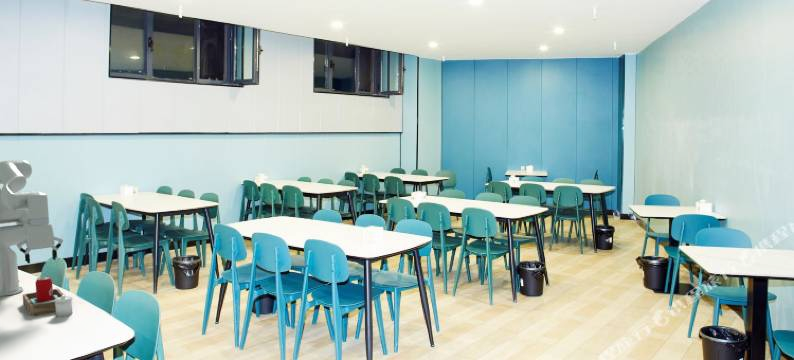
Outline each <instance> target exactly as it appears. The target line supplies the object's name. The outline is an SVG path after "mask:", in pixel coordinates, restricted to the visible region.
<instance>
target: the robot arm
mask: <svg viewBox="0 0 794 360" xmlns="http://www.w3.org/2000/svg"><path fill="white" fill-rule="evenodd" d="M32 173H33V169H32V165H31V164H30V163H29V162H28V161H27V160H24V159H16V160H14V159H13V160H2V161H0V185H2V188H1V187H0V225H3V226H0V297H5V296H12V295H16V294H19V293H22V292H23V291H24V288H23V287H22V286H20V284H19V283H20V280H19V270H18V256H17V253H16V251H14V250H13V248H11V247H13V246H16V247H17V248H18V250H19V251H20V252H22V253H23V254H24V260H25V262H26V263H27V264H31V256H30V251H33V250H40V249H41V250H42V249H48V248H51V253H52V254H51V255H52V257H51V259H52V260H53V261H56V258H58V254H57V253H58V249H59V248H61V246H62V243H63V242H64V239H63V238H59V237H56V236H55V235H54V229H53V225H52V223H50V219H49V215H50V214H49V203H48V202H49V201H48V200H49V199H48V194H46V193H43V192H41V191H37V190H35V191H23V192H22V190H23V189H24V188H25V187H26V185H27V179H28V178H29V177H31V176H32ZM20 191H21V192H20ZM11 223H15V224H12V225H6V224H11ZM4 224H5V225H4ZM55 241H57V242H58V243H56V245H55ZM24 245H25V246H26V249H24V248H23V247H22V246H24Z"/></svg>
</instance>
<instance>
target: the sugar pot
mask: <svg viewBox="0 0 794 360" xmlns="http://www.w3.org/2000/svg"><path fill="white" fill-rule="evenodd" d="M64 295H65V294H64ZM64 295H62V296H61V297H59V298H56V299H54V302H55V307H56V312H55V316H56V317H58V318H64V317H68V316H72V315H73V296H70V295H68V296H66V295H65V296H64Z"/></svg>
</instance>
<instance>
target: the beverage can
mask: <svg viewBox="0 0 794 360" xmlns="http://www.w3.org/2000/svg"><path fill="white" fill-rule="evenodd" d="M53 289H54V287H53V280H52V278H51V276H41V277H37V278H36V280H35V292H36V296H37V303H41V302H46V301H52V300H53Z"/></svg>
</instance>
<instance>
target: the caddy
mask: <svg viewBox="0 0 794 360" xmlns="http://www.w3.org/2000/svg"><path fill="white" fill-rule="evenodd" d="M53 295H57V296H58V297H61V296H62V295H64V296H66V295H65V294H64V293H63V292H62V290H60V288H53ZM34 298H37V296H36V291H35V292H30V293H24V294H22V305H23V306H24V307H25V309H26V311H27V312H28V313H29V316H30V317H35V316H36V317H37V316H41V315H47V314H52V313H53V314H54V313H56V307H55V302H54V301H52V302H46V303H40V304H35V305H33V304H32V303H31V301H30V299H34Z"/></svg>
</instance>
